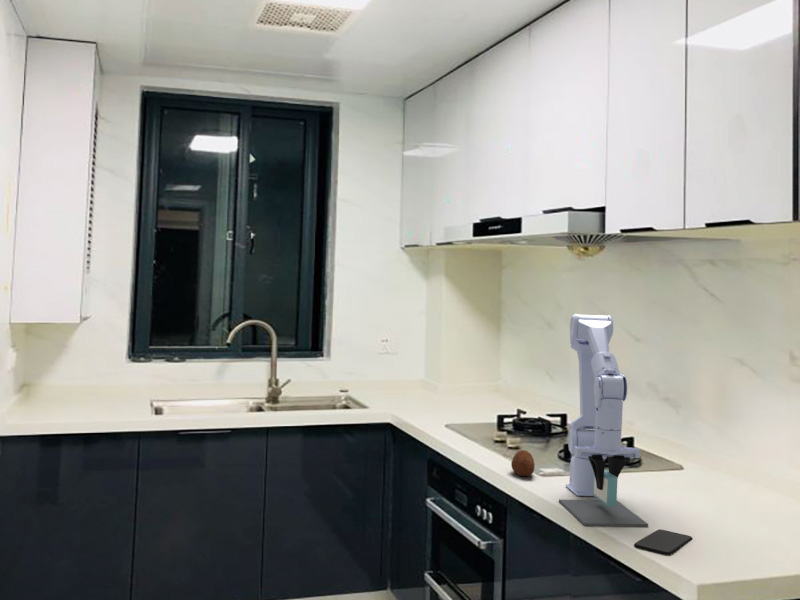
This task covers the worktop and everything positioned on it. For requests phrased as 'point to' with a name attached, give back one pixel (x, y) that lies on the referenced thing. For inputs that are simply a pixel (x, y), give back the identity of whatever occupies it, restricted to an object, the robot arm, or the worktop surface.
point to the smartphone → (663, 542)
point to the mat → (602, 514)
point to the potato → (523, 463)
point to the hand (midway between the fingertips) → (605, 488)
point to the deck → (607, 490)
